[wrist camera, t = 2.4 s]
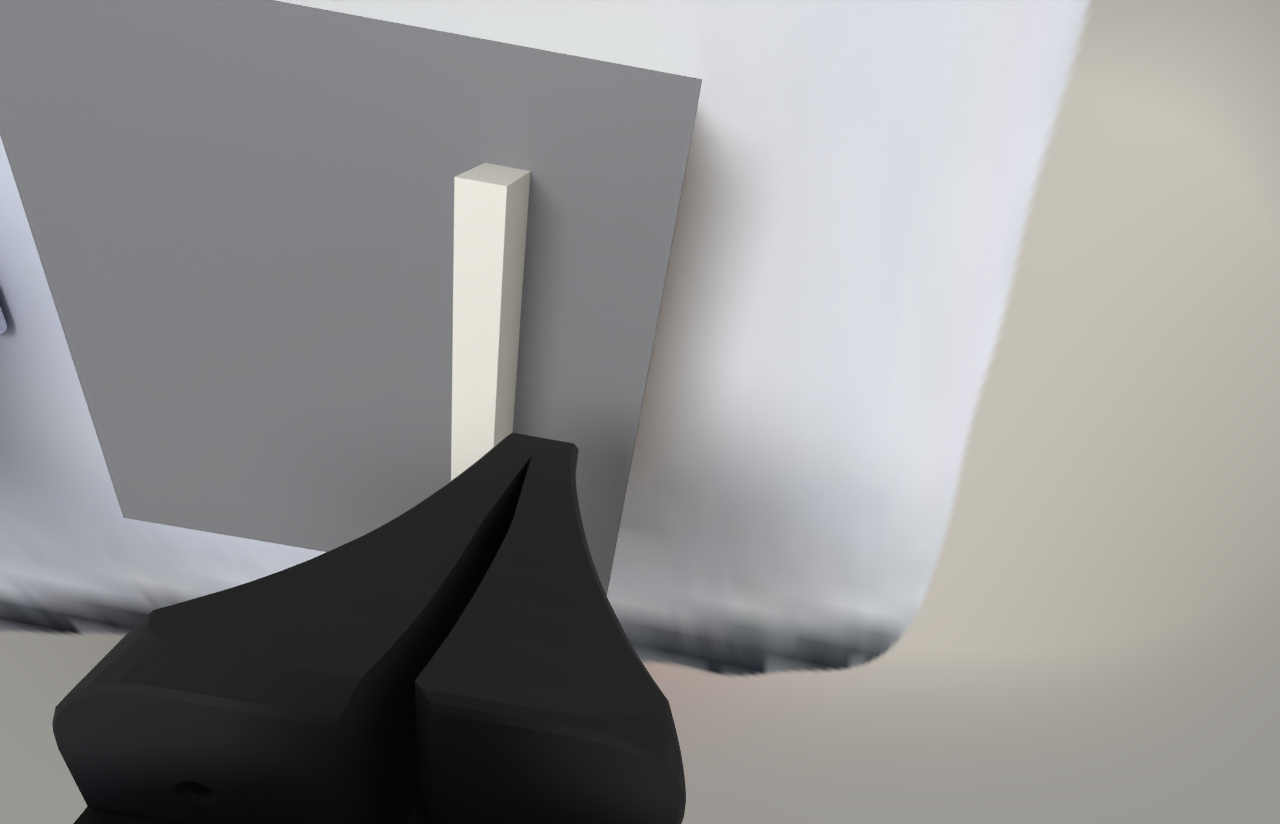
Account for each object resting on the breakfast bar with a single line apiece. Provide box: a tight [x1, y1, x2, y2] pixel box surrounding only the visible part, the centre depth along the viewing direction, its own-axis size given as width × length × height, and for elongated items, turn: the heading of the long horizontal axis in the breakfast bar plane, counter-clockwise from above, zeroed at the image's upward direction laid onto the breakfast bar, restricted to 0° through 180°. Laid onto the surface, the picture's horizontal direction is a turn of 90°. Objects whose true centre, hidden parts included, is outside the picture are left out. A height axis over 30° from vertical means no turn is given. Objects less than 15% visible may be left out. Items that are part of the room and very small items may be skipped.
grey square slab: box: [0, 0, 702, 596], centre depth 16 cm, size 15×15×4 cm
